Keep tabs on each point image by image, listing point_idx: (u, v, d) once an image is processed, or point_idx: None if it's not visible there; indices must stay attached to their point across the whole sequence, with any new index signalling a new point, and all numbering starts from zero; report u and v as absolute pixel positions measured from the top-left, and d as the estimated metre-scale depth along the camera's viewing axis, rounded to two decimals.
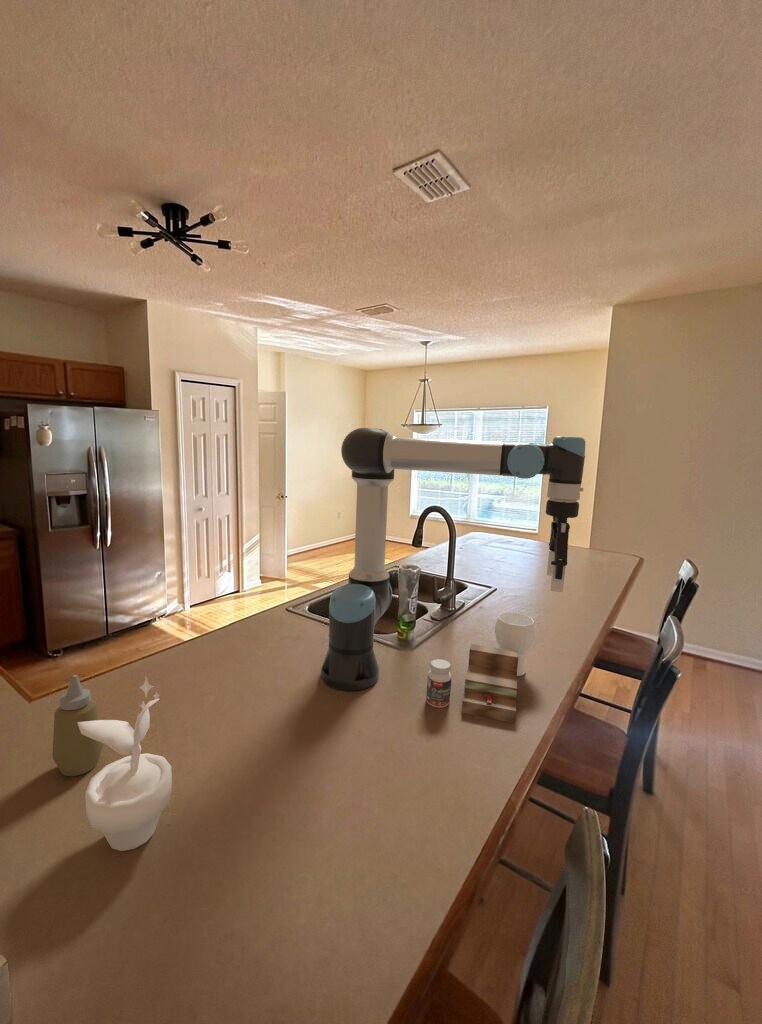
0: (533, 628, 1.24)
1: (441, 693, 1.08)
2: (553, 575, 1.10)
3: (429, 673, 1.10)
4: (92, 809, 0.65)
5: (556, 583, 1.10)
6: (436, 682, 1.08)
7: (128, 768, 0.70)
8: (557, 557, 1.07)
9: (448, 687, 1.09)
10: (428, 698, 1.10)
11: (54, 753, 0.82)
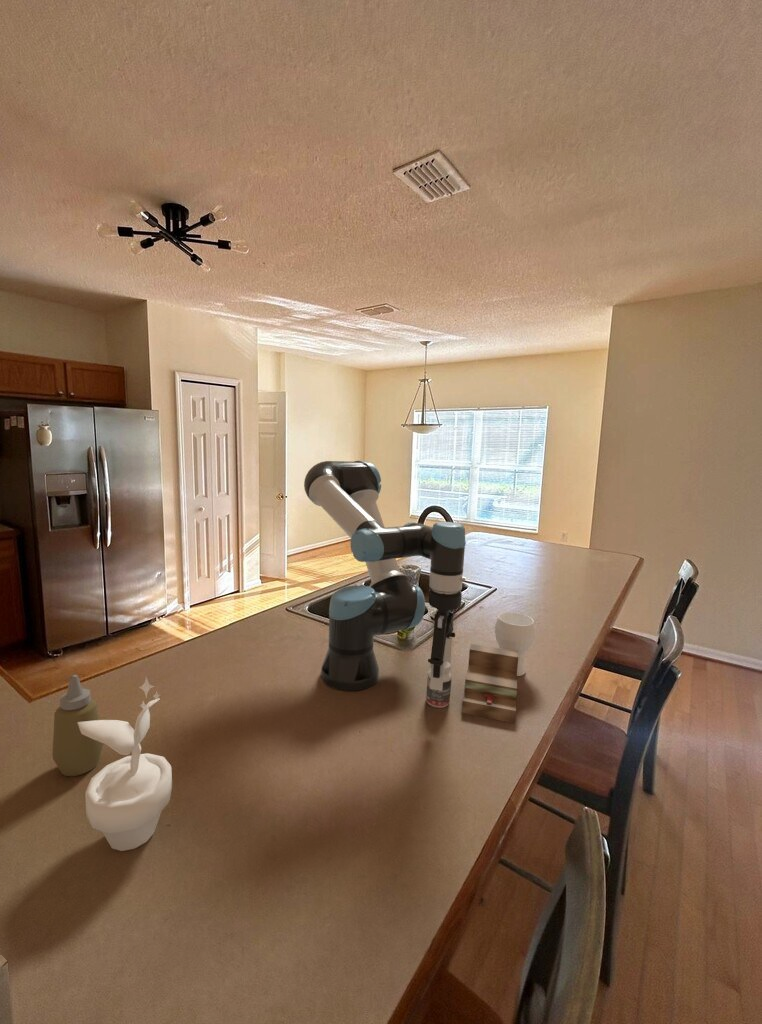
0: (533, 628, 1.24)
1: (441, 693, 1.08)
2: (432, 672, 1.03)
3: (429, 673, 1.10)
4: (92, 809, 0.65)
5: (435, 681, 1.03)
6: None
7: (128, 768, 0.70)
8: (432, 656, 1.00)
9: (448, 687, 1.09)
10: (428, 698, 1.10)
11: (54, 753, 0.82)
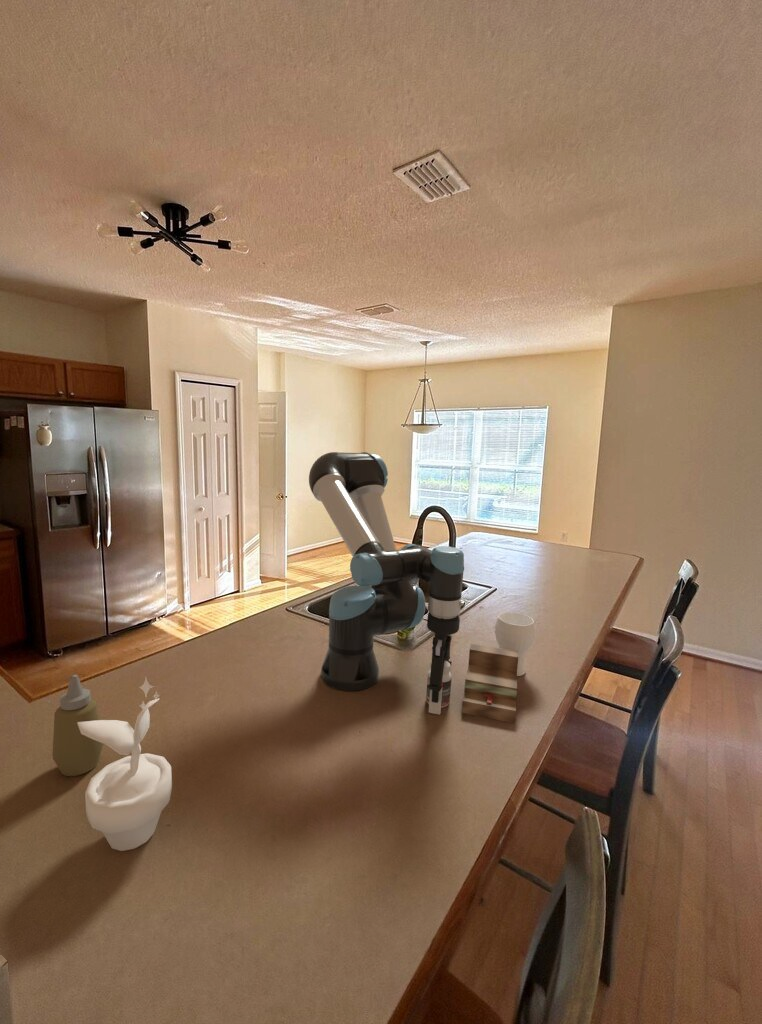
0: (533, 628, 1.24)
1: None
2: (430, 697, 1.06)
3: (429, 673, 1.10)
4: (92, 809, 0.65)
5: (433, 705, 1.06)
6: None
7: (128, 768, 0.70)
8: (430, 683, 1.03)
9: (448, 687, 1.09)
10: (428, 698, 1.10)
11: (54, 753, 0.82)
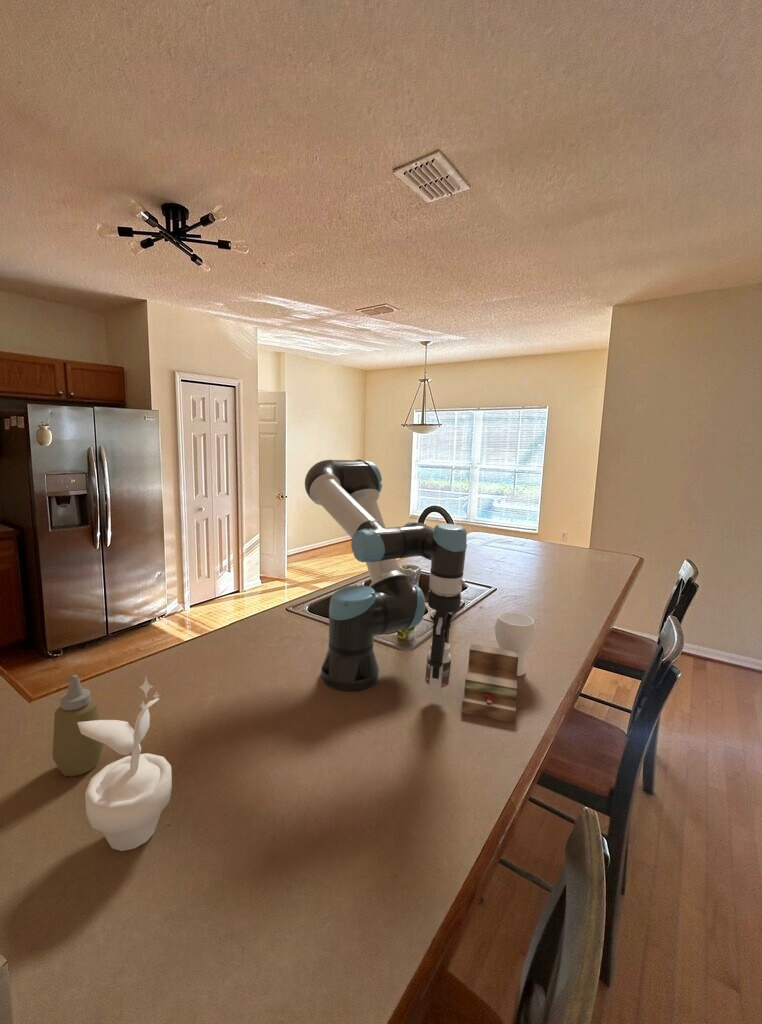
0: (533, 628, 1.24)
1: None
2: (431, 673, 1.08)
3: (429, 654, 1.10)
4: (92, 809, 0.65)
5: (434, 681, 1.08)
6: None
7: (128, 768, 0.70)
8: (431, 660, 1.04)
9: (447, 668, 1.09)
10: (427, 679, 1.10)
11: (54, 753, 0.82)
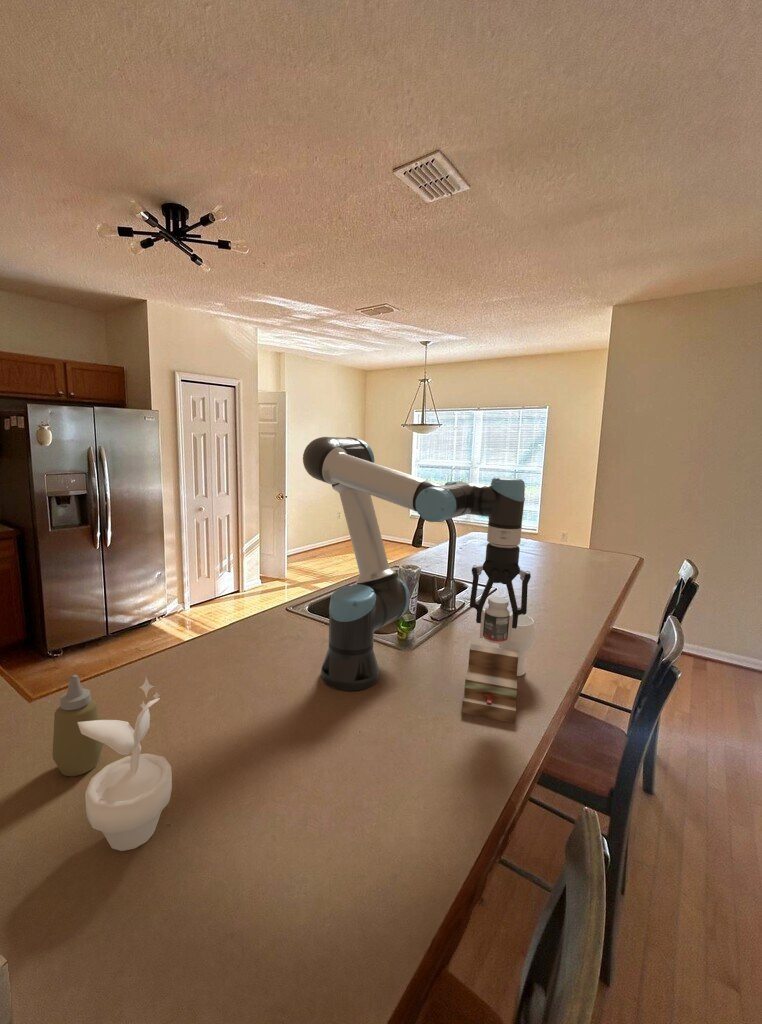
0: (533, 628, 1.24)
1: (485, 623, 1.10)
2: None
3: None
4: (92, 809, 0.65)
5: None
6: (485, 611, 1.11)
7: (128, 768, 0.70)
8: None
9: (490, 622, 1.08)
10: None
11: (54, 753, 0.82)
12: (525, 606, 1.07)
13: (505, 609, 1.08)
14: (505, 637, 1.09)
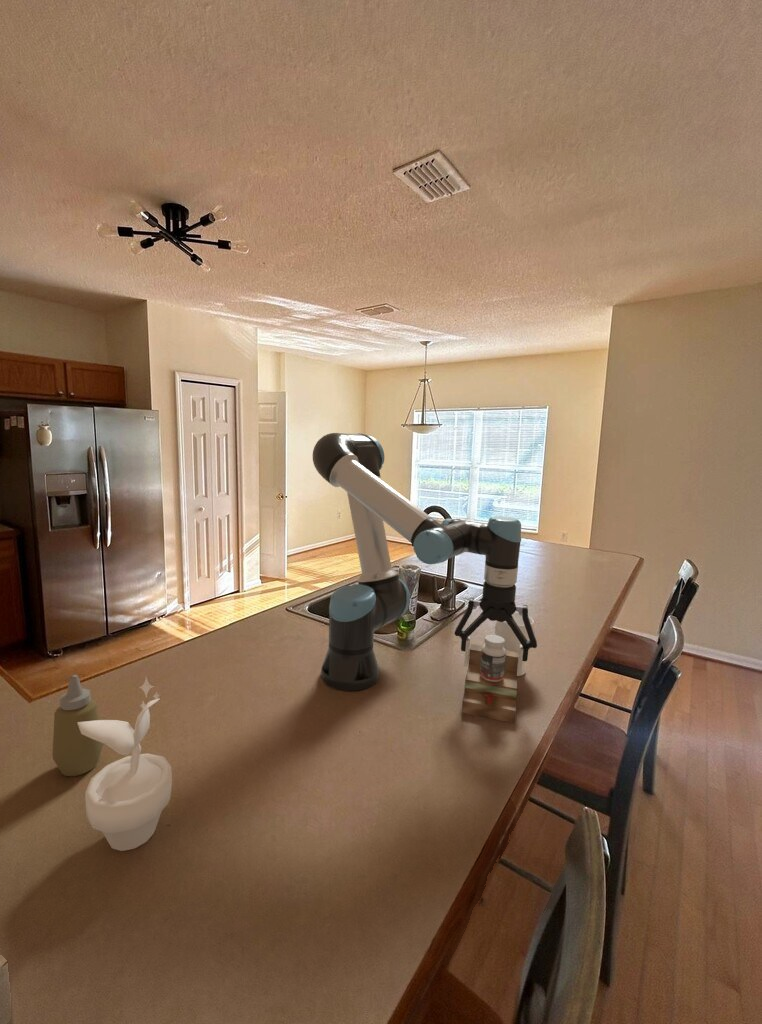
0: (533, 628, 1.24)
1: (481, 662, 1.12)
2: None
3: None
4: (92, 809, 0.65)
5: None
6: None
7: (128, 768, 0.70)
8: (457, 626, 1.14)
9: (486, 661, 1.10)
10: None
11: (54, 753, 0.82)
12: (533, 639, 1.07)
13: (501, 648, 1.10)
14: (501, 676, 1.11)
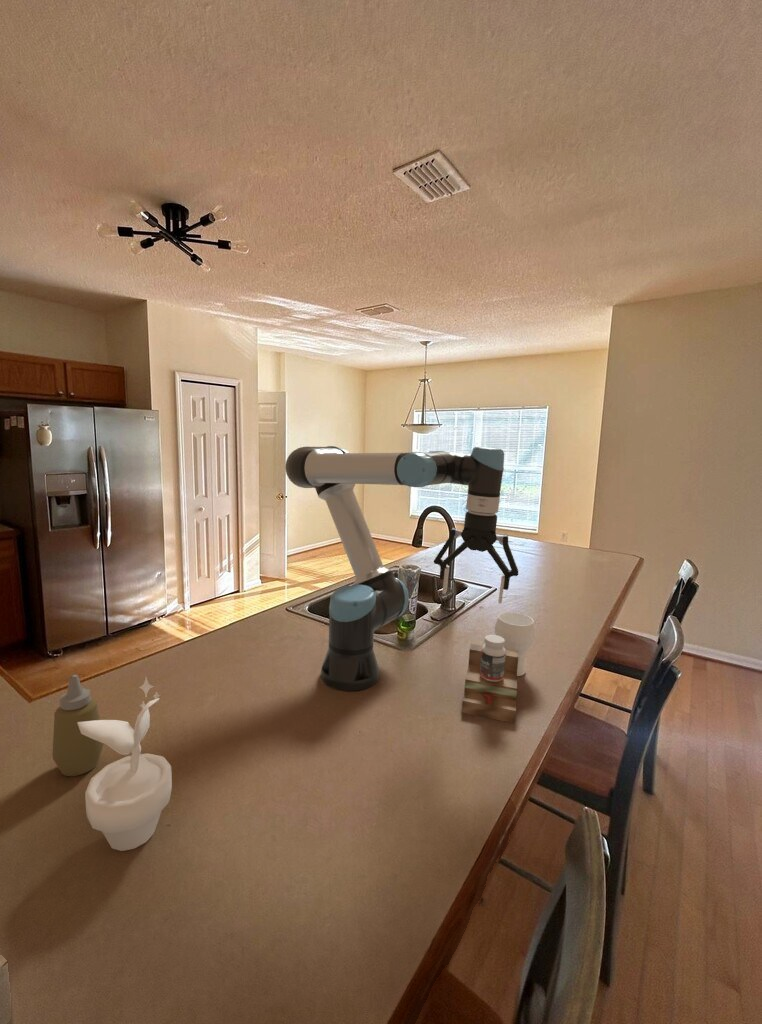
0: (533, 628, 1.24)
1: (481, 662, 1.12)
2: None
3: None
4: (92, 809, 0.65)
5: None
6: None
7: (128, 768, 0.70)
8: None
9: (486, 661, 1.10)
10: None
11: (54, 753, 0.82)
12: (514, 567, 1.09)
13: (501, 648, 1.10)
14: (501, 676, 1.11)
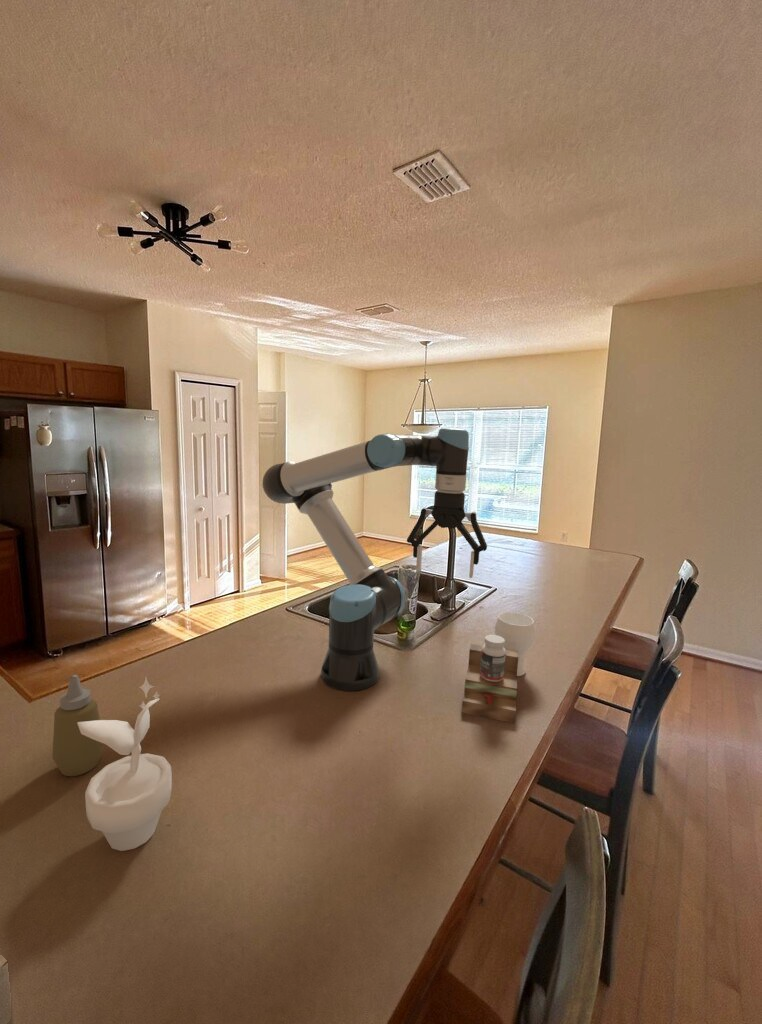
0: (533, 628, 1.24)
1: (481, 662, 1.12)
2: None
3: None
4: (92, 809, 0.65)
5: None
6: None
7: (128, 768, 0.70)
8: None
9: (486, 661, 1.10)
10: None
11: (54, 753, 0.82)
12: (483, 542, 1.14)
13: (501, 648, 1.10)
14: (501, 676, 1.11)
